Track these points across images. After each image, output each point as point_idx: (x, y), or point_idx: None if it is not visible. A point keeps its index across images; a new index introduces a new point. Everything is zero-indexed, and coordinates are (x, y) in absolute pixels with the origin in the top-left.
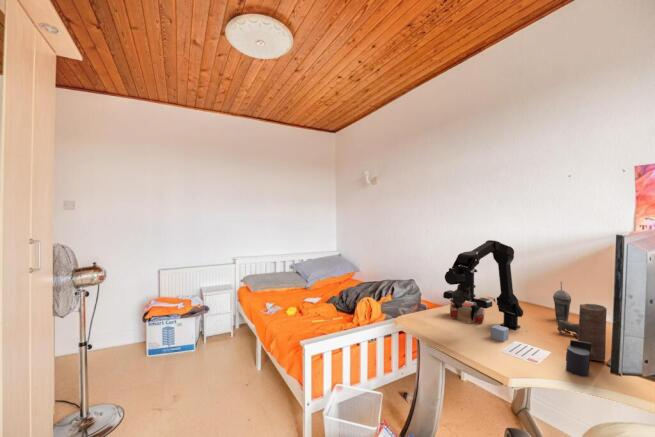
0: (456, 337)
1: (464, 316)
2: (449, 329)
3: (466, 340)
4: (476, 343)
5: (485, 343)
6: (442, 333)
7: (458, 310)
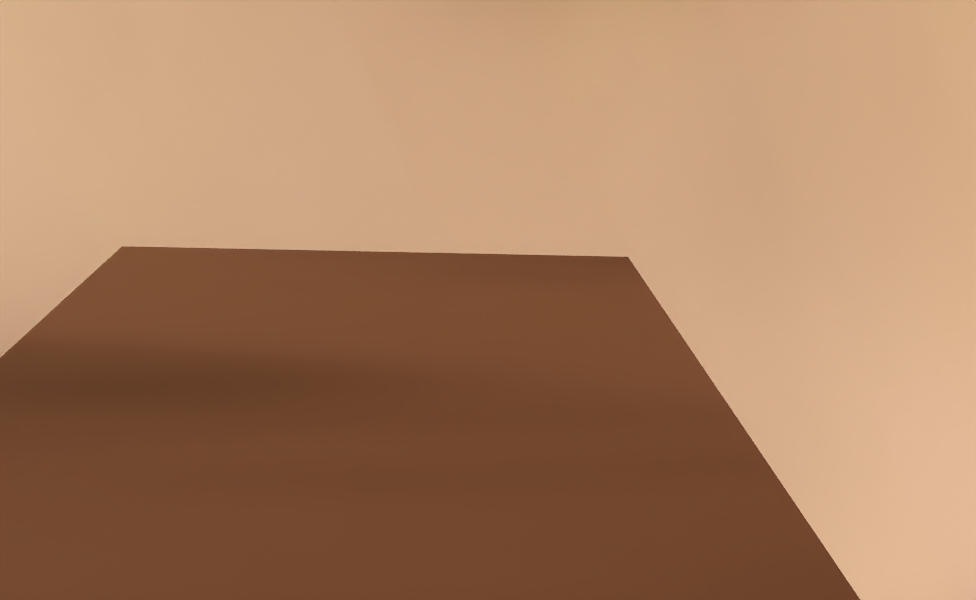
0: (539, 79)
1: (289, 355)
2: (820, 366)
3: (318, 110)
4: (107, 140)
5: (14, 301)
6: (861, 20)
7: (735, 516)
